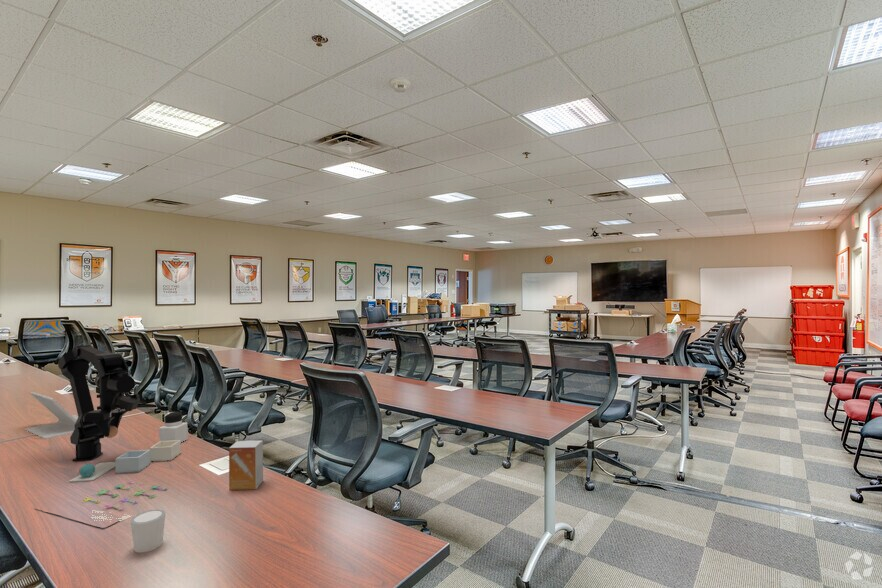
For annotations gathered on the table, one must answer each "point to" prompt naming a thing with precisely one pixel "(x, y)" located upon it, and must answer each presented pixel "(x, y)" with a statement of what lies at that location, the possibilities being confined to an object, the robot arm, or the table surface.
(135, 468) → the grey open box
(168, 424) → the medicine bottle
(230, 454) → the small box
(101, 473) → the mat
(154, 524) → the white oval container
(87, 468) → the teal ball
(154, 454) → the open cream box
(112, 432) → the terracotta ball
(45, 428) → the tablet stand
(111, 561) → the table surface
